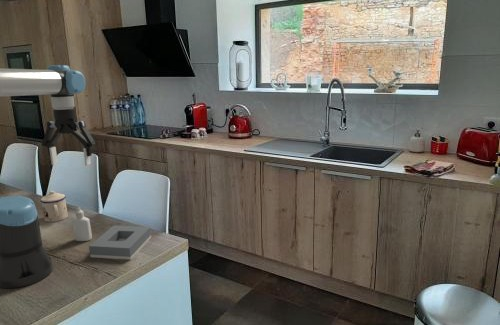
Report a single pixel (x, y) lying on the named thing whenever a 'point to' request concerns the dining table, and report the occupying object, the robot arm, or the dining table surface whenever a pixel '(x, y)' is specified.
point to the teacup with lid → (54, 207)
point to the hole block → (120, 242)
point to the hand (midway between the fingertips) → (71, 164)
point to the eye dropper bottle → (81, 227)
